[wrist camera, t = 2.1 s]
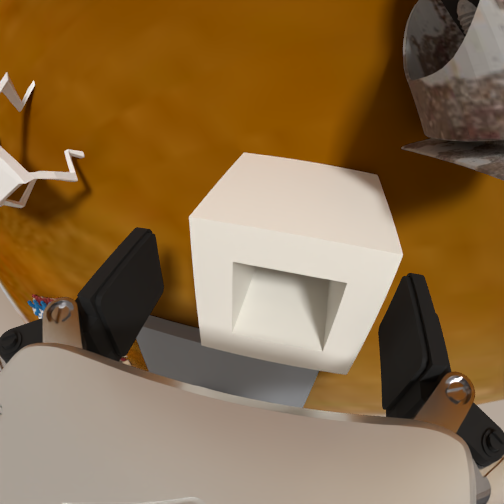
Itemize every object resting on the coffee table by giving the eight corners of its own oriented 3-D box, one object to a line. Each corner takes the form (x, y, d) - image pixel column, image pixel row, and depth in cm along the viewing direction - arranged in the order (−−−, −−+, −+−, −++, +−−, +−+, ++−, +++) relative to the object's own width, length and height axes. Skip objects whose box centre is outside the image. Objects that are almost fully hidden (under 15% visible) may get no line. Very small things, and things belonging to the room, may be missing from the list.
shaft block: (321, 354, 20) (309, 440, 15) (285, 437, 31) (274, 486, 26) (137, 311, 22) (96, 377, 17) (172, 408, 33) (153, 452, 28)
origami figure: (66, 43, 11) (-5, 58, 7) (100, 174, 16) (43, 216, 12) (-19, 111, 15) (-65, 134, 11) (10, 199, 19) (-30, 231, 15)
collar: (377, 174, 12) (402, 254, 8) (348, 279, 16) (346, 374, 11) (243, 152, 13) (189, 216, 9) (239, 258, 17) (201, 345, 12)
